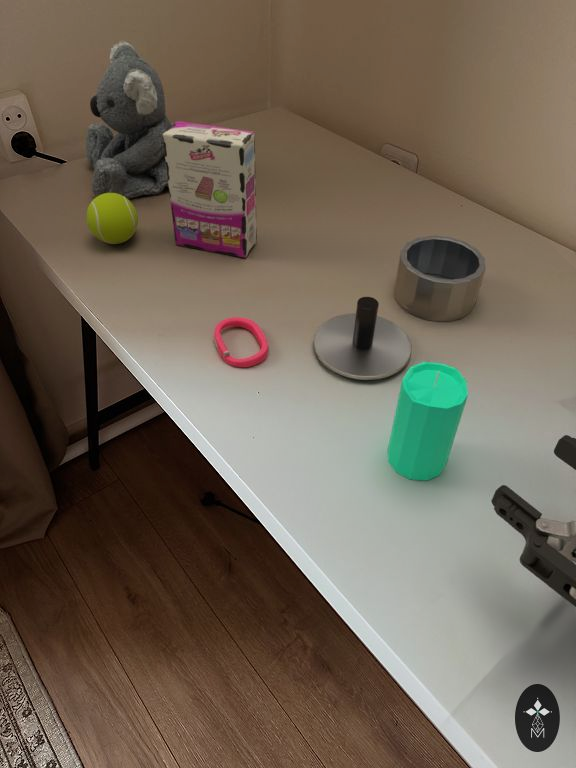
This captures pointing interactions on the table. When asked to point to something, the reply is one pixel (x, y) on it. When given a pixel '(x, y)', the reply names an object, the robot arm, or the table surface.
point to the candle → (426, 420)
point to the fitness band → (250, 326)
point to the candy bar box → (212, 187)
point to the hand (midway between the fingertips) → (528, 467)
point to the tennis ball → (112, 218)
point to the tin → (438, 278)
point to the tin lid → (362, 343)
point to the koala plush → (128, 128)
